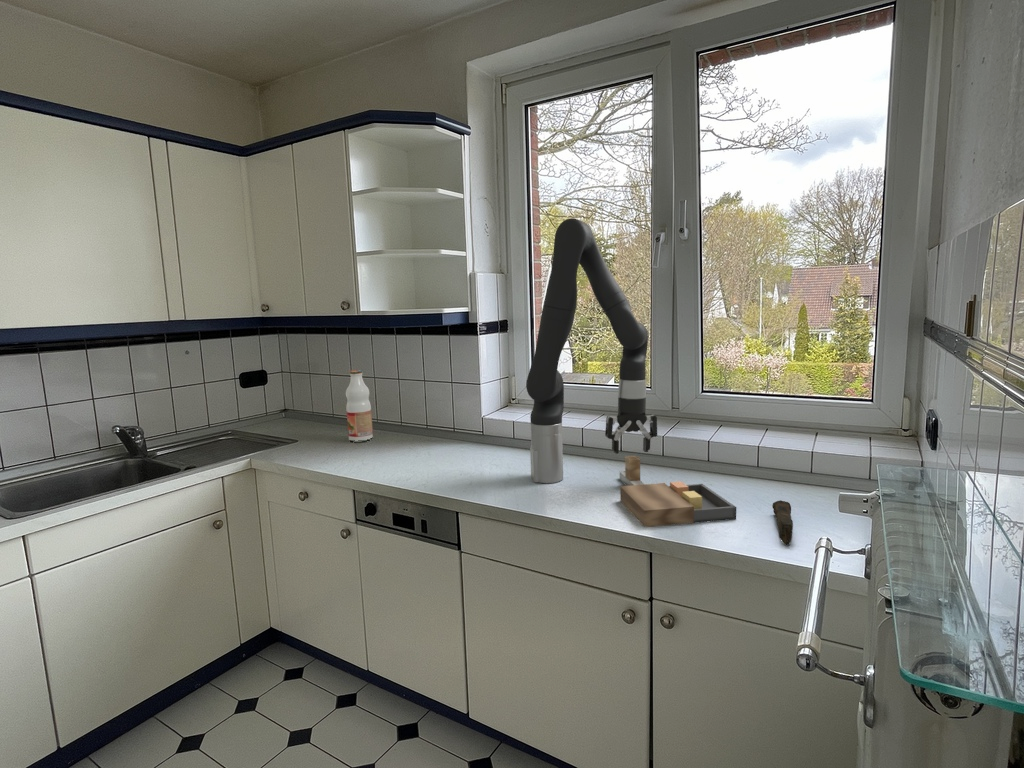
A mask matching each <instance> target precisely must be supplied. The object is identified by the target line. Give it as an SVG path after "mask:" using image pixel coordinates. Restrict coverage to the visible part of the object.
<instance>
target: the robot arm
mask: <svg viewBox="0 0 1024 768" xmlns="http://www.w3.org/2000/svg"><path fill="white" fill-rule="evenodd" d="M597 243H598V242H597V241H596V238H595V235H594V233H593V231H592V228H591V226H590V225H589V224H587V222H584V221H582V220H580V219H578V218H571V217H570V218H567V219H564V220H563V221H562V222H561V223H560V224H559V225H558V227H556V231H555V234H554V241H553V252H552V253H553V254H552V262H551V263H552V264H551V270H550V274H549V278H548V282H547V286H546V291H545V297H544V300H543V305H542V310H541V316H540V321H539V327H538V332H537V338H536V345H535V349H534V350H535V351H534V356H533V359H532V361H531V365H530V369H529V371H528V373H527V374H528V375H527V379H526V385H525V389H526V392H527V394H528V396H529V397H530V398H531V399H532V400H533V407H532V410H531V413H530V417H529V418H530V441H531V442H530V443H531V445H530V446H529V453H530V455H529V456H530V477H531V480H532V481H533V483H538V484H539V483H540V484H552V483H553V484H554V483H558V482H561V481H563V480H564V457H563V456H564V455H563V454H564V450H563V415H564V414H563V413H564V408H565V405H564V402H565V398H564V397H565V396H564V395H565V385H564V380H563V375H562V374H561V372H560V371H559V370H558V367H559V361H560V357H561V354H562V351H563V349H564V347H565V345H566V343H567V341H568V338H569V336H570V333H571V331H572V327H573V324H574V319H575V315H576V310H577V303H578V285H577V283H578V282H577V278H578V277H577V276H578V269H579V265H580V266H581V267H582V270H583V271H584V274H585V275H586V277H587V280H588V281H589V285H590V287H591V289H592V290H591V291H592V292H593V294H594V298H595V299H596V301H597V302H598V304H599V306H600V308H601V309H602V311H603V313H604V315H606V317H607V319H608V321H609V323H610V325H611V328H612V330H613V333H614V335H615V337H616V338H617V340H618V342H619V344H621V346H622V355H621V356H622V358H621V359H620V362H619V381H618V388H617V389H618V391H617V392H618V393H617V399H618V400H617V416H611V415H607V416H606V419H605V421H606V422H605V433H604V434H605V435H604V436H605V437H606V438H607V439H608V440H611V449H612V450H611V451H613V453H614V454H616V455H617V454H619V451H620V449H619V446H620V444H619V443H620V441H619V439H620V437H622V436H623V435H624V433H625V432H626V433H630V432H639V433H641V434H642V435H643V438H642V439H643V440H642V441H643V443H642V444H643V445H642V451H643V452H644V453H649V451H650V450H651V439H653V438H654V437H655V438H656V437H658V417H657V416H656V415H654V414H653V413H651V414H650V415H646V408H647V400H646V399H647V398H646V397H647V384H646V382H647V381H646V373H647V372H646V371H647V370H646V369H647V368H646V367H647V365H646V359H647V354H648V353H647V352H648V346H649V345H648V343H649V332H648V330H647V329H648V328H647V327H646V326H645V325H644V324H643V323H641V322H638V320H637V318H636V317H635V315H634V314H633V312H632V306H631V304H630V302H629V300H628V298H627V297H626V295H625V293H624V292H623V290H622V288H621V287H620V285H619V283H618V282H617V280H616V279H615V277H614V275H613V274H612V272H611V271H610V268H609V266H608V265H607V263H606V262H605V260H604V258H603V257H604V256H603V255H602V252H601V250H600V248H599V246H598V244H597ZM616 422H617V424H618V426H617V427H616V428H615V430H614V431H613V429H614V427H613V426H615V424H616ZM646 422H648V423H649V431H648V430H647V428H646V427H645V426H644V425H645V424H646Z"/></svg>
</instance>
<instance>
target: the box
mask: <svg viewBox="0 0 1024 768" xmlns="http://www.w3.org/2000/svg"><path fill="white" fill-rule="evenodd" d="M686 485H687V486H688V487H689V491H695V492H696V493H698V494H699V495H700V496H702V509H694V523H693V524H696V523H695V522H699V523H708V522H707V521H710V522H718V521H719V522H721V521H722V522H723V521H730V520H731V521H732V520H737V506H736V505H734V504H733V503H731V502H730V501H728V500H727V499H725V498H724V497H722V496H721V495H720V494H718V493H717V492H715V491H713V489H711V488H709V487H708V486H707V485H705V484H704V483H695V484H694V483H693V484H686ZM668 486H669V487H670V485H668Z"/></svg>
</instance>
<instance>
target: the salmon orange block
mask: <svg viewBox="0 0 1024 768" xmlns="http://www.w3.org/2000/svg"><path fill="white" fill-rule="evenodd" d="M687 485H688V484H686V483H684V482H683V481H670V483H669V486H670V488H671V489H673V490H674V491H675V492H676V493H678V494H679V495H680V496H681V497H682V492H685V491H689V487H688V486H687Z"/></svg>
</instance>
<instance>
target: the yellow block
mask: <svg viewBox="0 0 1024 768" xmlns="http://www.w3.org/2000/svg"><path fill="white" fill-rule="evenodd" d="M682 497H683V498H684V499H685V500H686V501H688V502H689V503H690V504H691V505H693V506H694V509H702V496H700V495H699V494H698V493H696V492H695V491H685V492H682Z"/></svg>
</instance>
